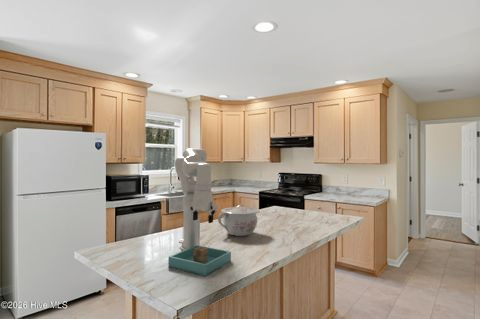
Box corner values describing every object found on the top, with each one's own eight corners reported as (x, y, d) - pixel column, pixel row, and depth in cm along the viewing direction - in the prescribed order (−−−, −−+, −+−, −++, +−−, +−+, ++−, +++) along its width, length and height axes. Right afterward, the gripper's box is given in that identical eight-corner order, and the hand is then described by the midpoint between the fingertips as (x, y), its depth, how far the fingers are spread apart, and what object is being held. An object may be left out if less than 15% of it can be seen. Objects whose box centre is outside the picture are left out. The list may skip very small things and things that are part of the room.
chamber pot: (260, 230, 216) (260, 202, 216) (258, 240, 188) (259, 208, 188) (223, 228, 218) (223, 201, 218) (216, 238, 191) (217, 207, 191)
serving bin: (168, 267, 139) (168, 256, 139) (196, 254, 158) (196, 245, 158) (205, 276, 128) (205, 265, 128) (230, 261, 148) (230, 251, 148)
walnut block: (193, 263, 142) (193, 249, 142) (199, 260, 147) (199, 246, 147) (201, 265, 140) (201, 250, 140) (207, 261, 144) (207, 247, 144)
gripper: (185, 187, 147) (184, 220, 147) (213, 189, 138) (212, 225, 139) (194, 185, 154) (194, 217, 154) (221, 188, 145) (221, 222, 145)
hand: (202, 221), depth 146 cm, fingers open, 9 cm apart
